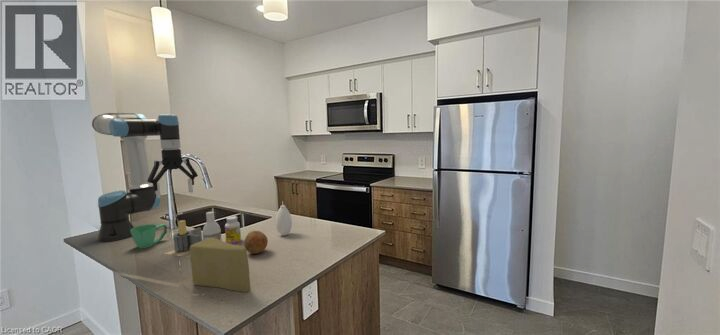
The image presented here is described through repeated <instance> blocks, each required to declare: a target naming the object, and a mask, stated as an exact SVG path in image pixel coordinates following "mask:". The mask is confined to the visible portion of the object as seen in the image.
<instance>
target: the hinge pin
mask: <svg viewBox="0 0 720 335" xmlns="http://www.w3.org/2000/svg"><path fill="white" fill-rule="evenodd" d="M186 223H187V222H186V220H185V219H180V220H178V221H177V228H178V233H179V236H183V235H187V231H188V230H187V224H186Z"/></svg>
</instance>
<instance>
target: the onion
mask: <svg viewBox="0 0 720 335" xmlns="http://www.w3.org/2000/svg"><path fill="white" fill-rule="evenodd" d="M268 240H269V239H268V237H267V235H266V234H265V233H263V232H262V231H260V230H252V231H249V232H248V234H247V235H246V236H245V238H244V242H243V243H244V244H243V247H245V248H246V250H247V253H249V254H252V255H253V254H254V255H256V254H260V253H263V252H264V251H265V250H266V248H267V246H268V244H269V243H268V242H269V241H268Z"/></svg>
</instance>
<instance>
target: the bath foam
mask: <svg viewBox="0 0 720 335" xmlns="http://www.w3.org/2000/svg"><path fill="white" fill-rule="evenodd" d="M214 214H215V212H214V211H208V212H205V217H206V218H205V219H206V222H205V224H204V225H203V228H202V241H203V240H206V239H208V238H216V239H218V240H221V241H223V239H222V238H223V237H222V229H221V227H220V224H219V223H218V222H217V221H216V220H215V215H214Z"/></svg>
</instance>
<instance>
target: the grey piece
mask: <svg viewBox="0 0 720 335" xmlns="http://www.w3.org/2000/svg"><path fill="white" fill-rule="evenodd" d="M186 231H187V235H183V236H179V232H176V233H174V234H173V235H172V236H173V246H174V248H175V252H186V251H189V250H190V246H191V245H193V244H195V243H198V242H200V241H203V232H202V228H201V227H197V228H194V229H191V230H189V231H188V230H186ZM174 248H173V249H174Z"/></svg>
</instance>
